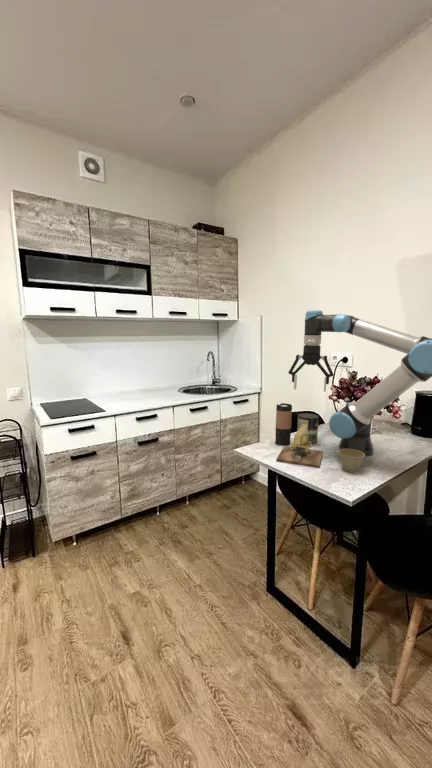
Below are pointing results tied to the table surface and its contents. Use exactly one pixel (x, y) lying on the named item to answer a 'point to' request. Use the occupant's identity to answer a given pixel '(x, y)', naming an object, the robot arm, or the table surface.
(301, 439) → the coupling
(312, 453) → the base
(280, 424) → the travel mug
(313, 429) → the coffee can
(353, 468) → the flower pot
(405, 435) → the table surface
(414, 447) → the table surface
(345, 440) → the robot arm
